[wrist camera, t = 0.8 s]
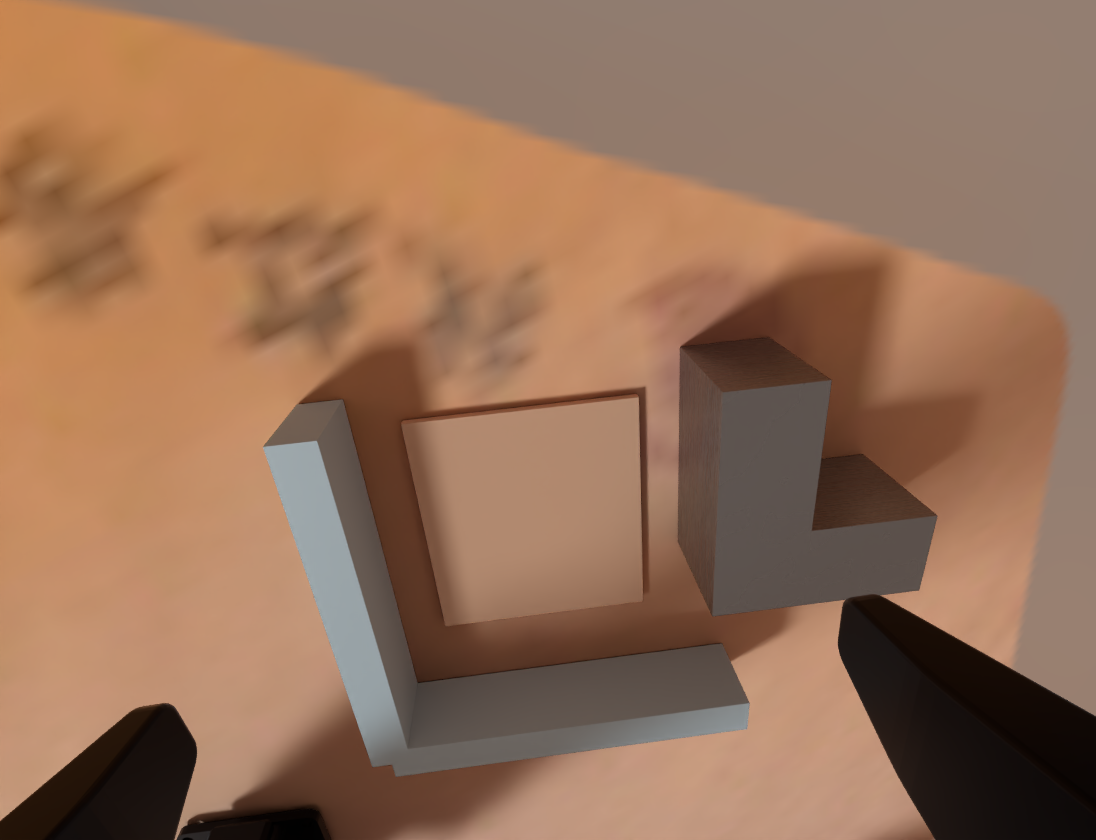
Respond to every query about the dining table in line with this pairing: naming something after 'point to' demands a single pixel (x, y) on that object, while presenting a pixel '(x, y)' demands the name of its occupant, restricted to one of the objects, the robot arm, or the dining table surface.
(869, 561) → the bracket
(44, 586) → the dining table surface
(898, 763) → the robot arm
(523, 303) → the dining table surface
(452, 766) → the corner wall
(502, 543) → the tile
